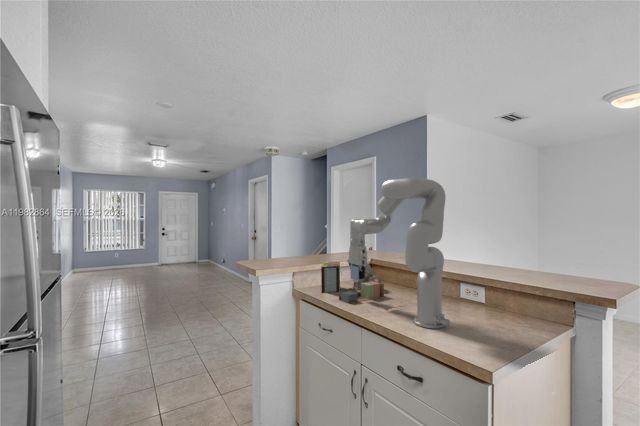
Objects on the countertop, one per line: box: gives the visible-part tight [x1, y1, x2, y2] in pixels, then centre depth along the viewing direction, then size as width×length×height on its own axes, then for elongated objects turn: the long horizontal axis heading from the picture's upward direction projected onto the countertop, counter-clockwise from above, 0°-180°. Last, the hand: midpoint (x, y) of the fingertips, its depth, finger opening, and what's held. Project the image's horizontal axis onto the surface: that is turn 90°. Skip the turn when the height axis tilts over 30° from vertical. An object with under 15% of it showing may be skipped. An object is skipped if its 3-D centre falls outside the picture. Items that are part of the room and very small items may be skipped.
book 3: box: [367, 281, 380, 299], centre depth 165 cm, size 6×4×7 cm, turn 34°
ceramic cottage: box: [352, 264, 383, 292], centre depth 179 cm, size 16×16×15 cm
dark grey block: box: [340, 290, 358, 304], centre depth 156 cm, size 6×6×4 cm
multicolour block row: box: [338, 281, 385, 305], centre depth 160 cm, size 9×23×8 cm, turn 124°
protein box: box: [320, 261, 341, 294], centre depth 181 cm, size 10×15×16 cm
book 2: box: [360, 283, 374, 299], centre depth 163 cm, size 6×4×7 cm, turn 34°
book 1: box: [350, 265, 364, 281], centre depth 159 cm, size 6×4×7 cm, turn 34°
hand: (357, 277), depth 159 cm, fingers closed on book 1, 6 cm apart
